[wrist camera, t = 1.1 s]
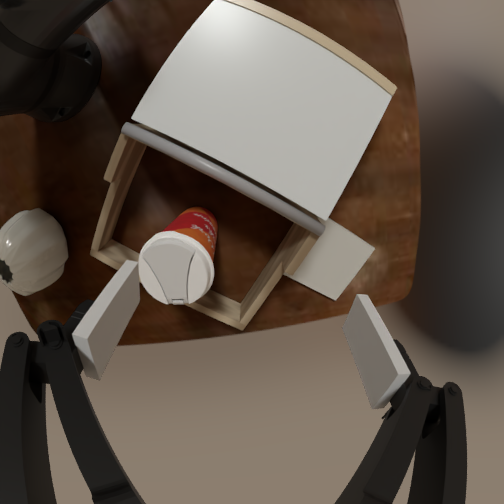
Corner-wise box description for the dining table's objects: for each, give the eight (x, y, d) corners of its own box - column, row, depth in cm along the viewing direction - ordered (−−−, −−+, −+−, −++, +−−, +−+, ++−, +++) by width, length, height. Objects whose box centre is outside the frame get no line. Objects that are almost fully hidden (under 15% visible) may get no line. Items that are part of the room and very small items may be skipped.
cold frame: (103, 241, 42) (80, 263, 34) (148, 123, 34) (124, 123, 27) (243, 311, 47) (242, 343, 40) (311, 209, 40) (325, 228, 32)
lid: (136, 132, 31) (119, 133, 26) (222, -8, 23) (217, -26, 18) (311, 223, 36) (319, 237, 31) (394, 89, 28) (414, 85, 23)
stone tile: (280, 271, 44) (281, 273, 43) (320, 212, 40) (321, 213, 39) (334, 298, 46) (335, 300, 45) (373, 247, 42) (375, 248, 41)
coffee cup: (228, 249, 42) (217, 309, 29) (176, 253, 42) (144, 310, 29) (222, 195, 39) (206, 233, 25) (167, 200, 39) (125, 239, 25)
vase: (30, 191, 37) (-20, 215, 25) (83, 223, 40) (36, 259, 28) (22, 251, 42) (-18, 283, 30) (70, 283, 45) (33, 325, 33)
